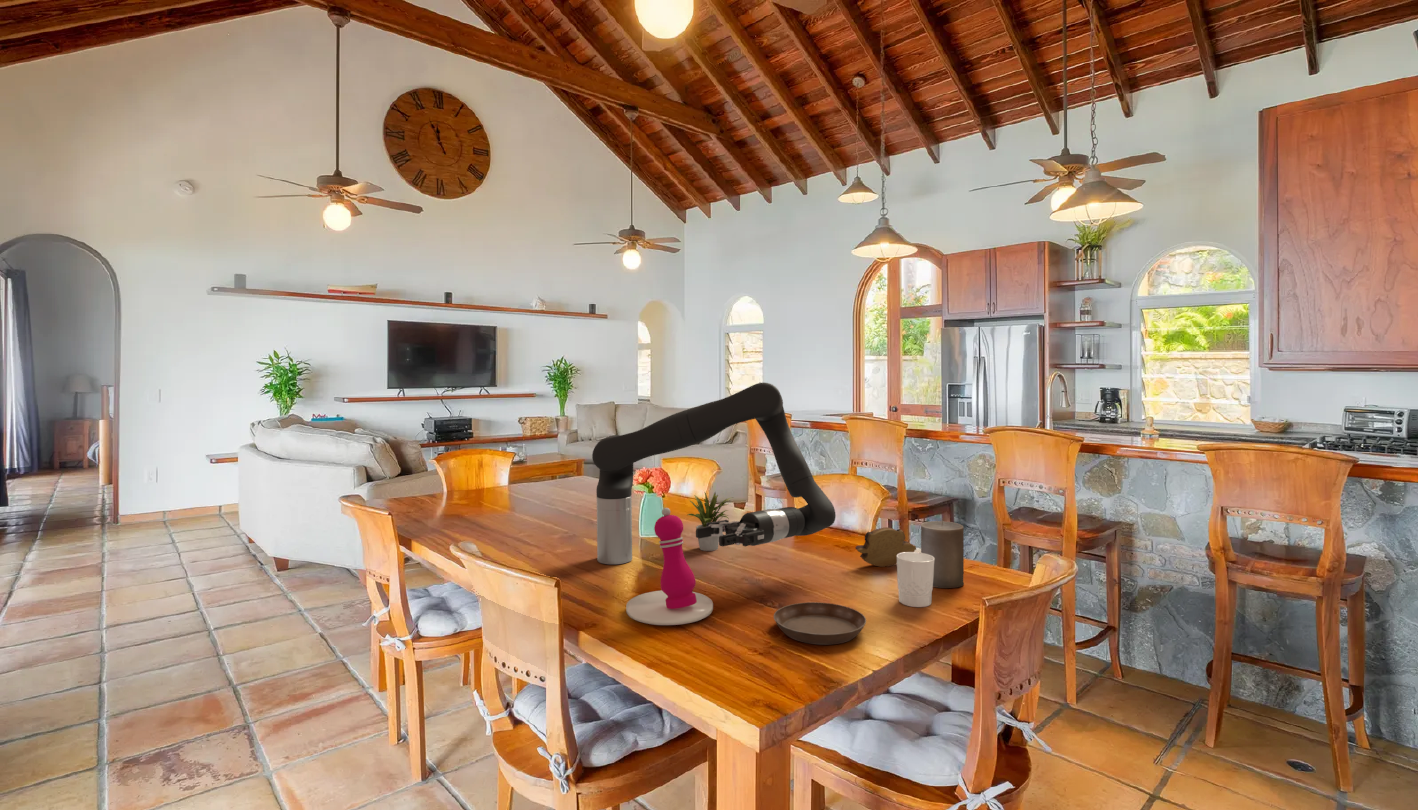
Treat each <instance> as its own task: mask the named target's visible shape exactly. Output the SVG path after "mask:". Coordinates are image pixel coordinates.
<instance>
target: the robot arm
mask: <svg viewBox="0 0 1418 810" xmlns="http://www.w3.org/2000/svg"><path fill="white" fill-rule="evenodd" d="M752 420H756V423H758V425H759V426H760V429H761V430H762V431H763V433H764V435H765V436H766V438H767V440H768V443H769V446H770V448H771V449H772V453H773V456H774V458H775V462H776V464H777V468H778V471H779V473H780V475H781V477H782V480H783V481H784V484H785V486H786V490H787V491H788V493H789V496H791V497H792V498H802V500H804V502H806V504H805V505H804V506H801V507H798V508H797V507H793V506H788V507H780V508H769V509H768V508H767V509H763V510H756V511H752V512H751V511H750V512H747V513H744V514H742V516H741V519H740V520H739V521H738V520H736V521H735V520H733V521H730V519H721V520H717V521H716V522H708V523H706V527H701V528H697V529H696V528H695V538H696V539H698V538H699V539H700V538H705V537H710V536H711V537H712V536H719V544H718V546H720V547H723V548H724V547H726V546H732V545H736V546H740V545H741V546H743V547H749V546H751V547H755V546H760V545H763V544H769V543H773V542H778V541H780V540H783V539H788V538H791V537H795V536H796V537H801V536H802V537H804V536H809V535H814V534H816V533H818V532H821V531H823V530H824V529H828V528H829V527H831V526H832V525H833V524H834V523H835V521H836V510H835V507H834V504H833V503H832V501H831V500H830V498H829V497H828V496H827V494H825V492H824V491H823V489H822V488H821V487H820V485H818V484H817V482H816V480H815V479H814V477H813V475H812V471H811V469H810V468H809V465H808V463H807V461H806V458H805V456H804V455H803V452H802V451H801V448H799V445H798V444H797V442H796V440H795V438H794V437H793V434H792V431H791V428H790V427H789V423H788V420H787V416H786V412H785V409H784V401H783V397H782V394H781V392H780V390H779V388H778V387H777V386H775V385H774V384H772V383H769V382H758V383H755V384H752V385H750V386H748V387H747V388H744V389H741V390H740V391H738V392H735V393H733V394H731V395H729V396H727V397H724V398H721V399H718V400H714V401H710V402H707V403H704V404H700V405H698V406H693V407H691V408H687V409H685V410H682V411H679V412H676V413H672V414H671V415H668V416H666V417H664V418H662V419H659V420H657V421H655V422H653V423H651V424H649V425H648V426H646V427H644V428H641V429H638V430H636V431H633V432H629V433H624V434H621V435H620V434H614V435H613V434H612V435H609V436H607V437H604V438H602V439H600V440H599V441H597V444H595V446H594V448H593V450H592V455H591V457H592V458H591V459H592V462H593V464H594V465H595V467H596V468H597V469H599V478H598V482H597V485H596V491H595V492H596V540H597V541H596V543H597V544H596V546H597V550H596V551H597V558H596V559H597V562H598V563H600V564H604V565H621V564H626V563H630V562H631V561H632V560H633V521H632V520H633V511H632V509H633V506H632V505H633V504H632V503H633V501H632V494H633V493H632V491H633V490H632V489H633V485H634V463H637V462H638V461H641V460H643V459H646V458H649V457H653V456H658V455H662V454H666V453H670V452H675V451H678V450H680V449H685V448H688V447H692V446H694V445H697V444H699V443H700V444H701V443H702V442H705V441H707V440H709V439H711V438H713V437H714V436H716V435H718V434H719V433H720V432H722V431H724V430H726V429H728V428H730V427H732V426H735V425H738V424H740V423H743V422H744V423H745V422H746V421H752ZM714 528H715V529H714Z"/></svg>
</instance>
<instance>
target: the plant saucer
mask: <svg viewBox="0 0 1418 810" xmlns="http://www.w3.org/2000/svg"><path fill="white" fill-rule="evenodd" d="M773 620H774V622H775V623H776V625H777V626H778V627H779V629H780V630H781V631H782V632H783V634H785V635H786V636H787V637H789V638H791V639H793V640H795V641H798V642H801V643H804V644H810V645H811V644H812V645H819V646H828V645H839V644H844V643H846V642H849V641H851V640H853V639H855V638H856V637H857V636H858V635H859V634H860V633H861V631H862V630H863V629H864V627H865V625H866V623H867V618H866V617H865V614H863V613H861V612H860V611H859V610H856V609H854V608H851V607H849V606H848V607H847V606H846V605H841V604H835V603H829V602H812V601H811V602H799V603H793V604H788V605H785V606H783V607H780V608H778V609H777V610H775V612H774V614H773Z"/></svg>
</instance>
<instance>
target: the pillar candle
mask: <svg viewBox="0 0 1418 810" xmlns="http://www.w3.org/2000/svg"><path fill="white" fill-rule="evenodd" d="M964 533H965V532H964V525H963V524H960V523H957V522H953V521H945V520H944V519H942V520H940V521H939V520H933V521H925V522H922V523H921V524H920V553H925V554H929V555H931V556H933V557H934V558H935V560H934V578H933V588H939V589H953V588H954V589H955V588H961V587H962V586H964V584H965V582H964V574H965V573H964V563H965V562H964V558H965V557H964V555H965V554H964V551H965V550H964V546H965V545H964V540H965V539H964V538H965V537H964V535H965V534H964Z"/></svg>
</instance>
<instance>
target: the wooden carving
mask: <svg viewBox="0 0 1418 810" xmlns="http://www.w3.org/2000/svg"><path fill="white" fill-rule="evenodd" d="M905 535H906V534H905V531H903V530H902V529H900V528H898V529H895V528H892V527H879V528H876V529H873V530H871V531H867V532H866V533H865V535H864V541H865V542H864V544H863V545H862V544H861V545H860V544H859V545H856V546H855V550H857V552H858V553H861V554H860V556H859V557H860V558H861V559H862V560H863V561H864V562H866V563H867V564H869V565H873V566H876V567H880V568H886V567H885V566H887V567H891V566H894V565H897V554H899V553H903V552H916V550H917V546H916V545H914V544H912V543H911V542H909V541H906V536H905Z"/></svg>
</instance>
